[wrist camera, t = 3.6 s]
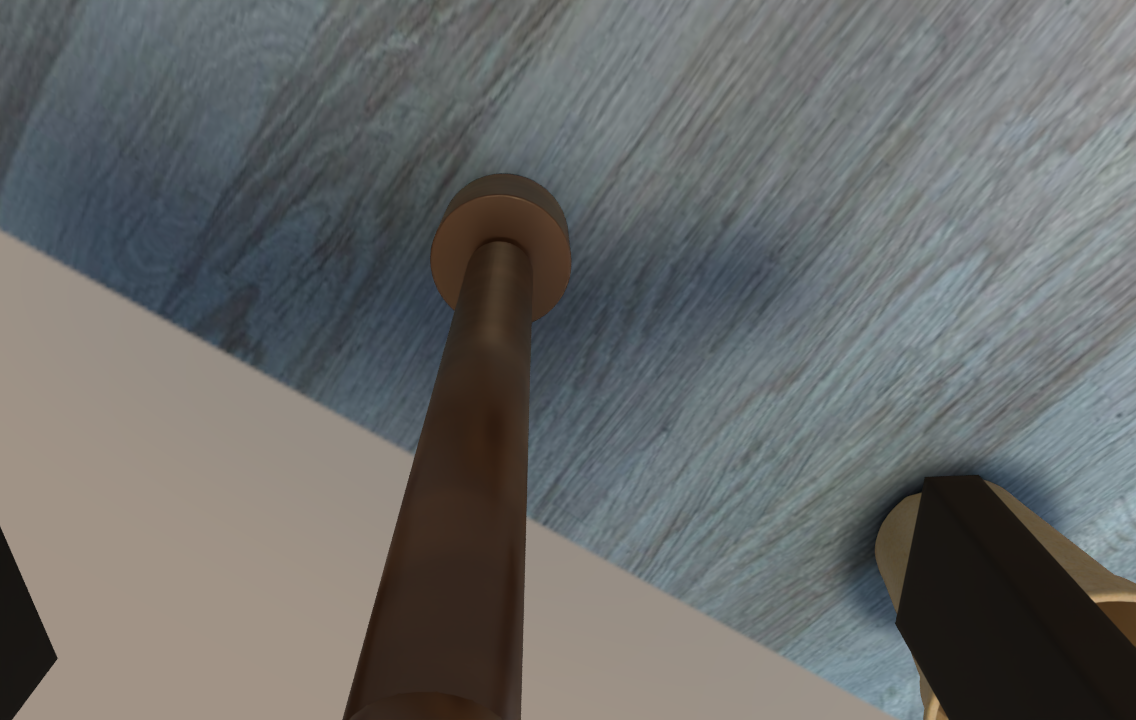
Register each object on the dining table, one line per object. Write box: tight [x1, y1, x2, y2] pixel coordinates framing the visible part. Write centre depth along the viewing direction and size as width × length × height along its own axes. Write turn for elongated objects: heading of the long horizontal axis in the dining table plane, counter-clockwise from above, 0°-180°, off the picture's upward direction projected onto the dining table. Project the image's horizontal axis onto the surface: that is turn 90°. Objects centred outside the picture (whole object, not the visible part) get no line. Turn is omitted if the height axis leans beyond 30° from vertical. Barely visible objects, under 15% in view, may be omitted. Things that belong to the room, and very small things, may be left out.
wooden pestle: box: [343, 174, 571, 720], centre depth 17 cm, size 4×4×21 cm
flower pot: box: [875, 480, 1136, 720], centre depth 29 cm, size 9×9×9 cm
